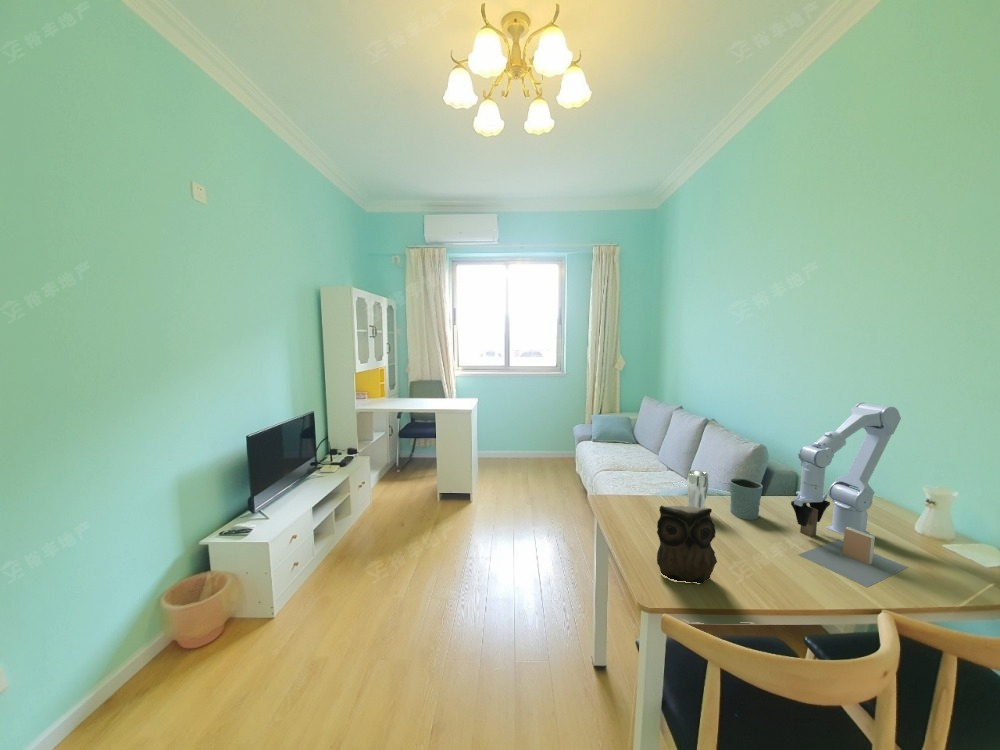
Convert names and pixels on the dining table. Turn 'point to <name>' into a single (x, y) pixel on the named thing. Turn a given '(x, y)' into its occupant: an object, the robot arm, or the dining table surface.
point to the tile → (858, 545)
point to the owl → (686, 543)
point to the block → (810, 524)
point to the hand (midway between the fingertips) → (808, 522)
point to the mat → (852, 564)
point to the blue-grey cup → (745, 498)
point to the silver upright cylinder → (697, 488)
